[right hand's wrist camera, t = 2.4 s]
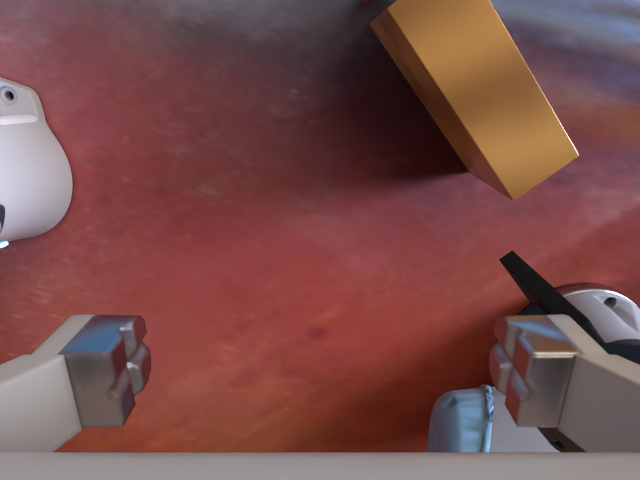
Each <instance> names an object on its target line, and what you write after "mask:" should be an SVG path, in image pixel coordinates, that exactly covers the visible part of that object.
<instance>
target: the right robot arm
mask: <svg viewBox="0 0 640 480" xmlns="http://www.w3.org/2000/svg"><path fill="white" fill-rule="evenodd" d="M10 92H12V93H13V95H14V99H11V98H10V96H9V93H10ZM72 190H73V182H72V173H71V169H70V165H69V162H68V159H67V157H66V154H65V152H64V150H63V148H62V147H61V145H60V143H59V142H58V140H57V139H56V137H55V136H54V134H53V133H52V131H51V130H50V128H49V127H48V125H47V123H46V119H45V115H44V111H43V107H42V104H41V101H40V99H39V97H38V95H37V93H36V92H35V91H34V90H33V89H31V88H30V87H28V86H25V85H22V84H19V83H16V82H13V81H11V80H8V79H5V78H2V77H0V248H2V247H5V246H6V245H8V242H10V241H14V240H19V239H25V238H31V237H35V236H38V235H41V234H43V233H45V232H47V231H49V230H50V229H52V228H53V227H54V226H56V225H57V224H58V223H59V222H60V220H61V219H62V218H63V217H64V215H65V213H66V212H67V210H68V207H69V205H70V202H71V197H72ZM146 333H147V330H146V325H145V321H144V319H143V318H142V317H141V316H136V315H95V314H90V315H73V316H70V317H69V318H68V319H67V320H66V321H65V322H64V323H63V324H62V325H61V326H60V327H59V328H58V329H57V330H56V331H55V332H54V333H53V334H52V335H51V336H50V337H49V338H48V339H47V340H46V341H45V342H44V343H43V344H42V345H40V346H39V347H38V348H37V349H36V350H35V351H34V352H33V353H32V354H31V355H22V356H19V357H17V358H15V359H13V360H10V361H8V362H6V363H3V364H1V365H0V480H640V365H639V364H637V363H634V362H632V361H630V360H627V359H625V358H623V357H621V356H618V355H609V354H608V353H607V352H606V351H605V350H604V349H603V348H602V347H601V346H600V345H599V344H598V343H596V342H595V341H594V340H593V339H592V338H591V337H590V336H589V335H588V334H587V333H586V332H585V331H584V330H583V329H582V328H581V327H580V326H579V325H578V324H577V323H576V322H575V321H574V320H573V319H572V318H571V317H570V316H567V315H564V314H558V315H522V316H498V317H497V319H496V321H495V325H494V330H493V333H494V335H495V336H496V338H497V339H498V342H497V343H496V344H495V345H494V346H493V347H492V348H491V349H490V356H489V369H490V376H491V379H492V382H493V384H494V386H495V388H496V390H497V391H499V392H500V393H502V394H503V395H505V396H506V399H505V406H506V408H507V410H508V411H509V413H510V415H511V417H512V418H513V420H514V422H515V424H516V425H517V427H540V428H558V430H559V431H560V432H561V433H563V434H564V435H565V436H567V437H568V438H569V439H570V440H572V441H573V442H574V443H576V444H577V445H578V446H580V447H581V448H582V449H583V450H585V451H586V452H54V451H55V450H57V449H58V448H59V447H61V446H62V445H63V444H65V443H66V442H67V441H68V440H70V439H71V438H72V437H74V436H75V435H76V434H77V433H79V432H80V431H81V430H82V428H100V427H123V426H124V424H125V422H126V420H127V418H128V417H129V415H130V413H131V411H132V410H133V408H134V406H135V399H134V396H135V395H137V394H138V393H140V392H141V391H143V390H144V388H145V386H146V384H147V382H148V379H149V375H150V370H151V355H150V349H149V348H148V347H147V346H146V345H145V344H144V343H143V342H142V339H143V338H144V336H145V335H146Z"/></svg>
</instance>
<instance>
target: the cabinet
mask: <svg viewBox="0 0 640 480" xmlns="http://www.w3.org/2000/svg"><path fill="white" fill-rule="evenodd" d="M369 25H370V27H371V28H372V30H373V31H374V33H375V34H376V36H377V37H378V39H379V40H380V42H381V43H382V44H383V46H384V47H385V49H386V50H387V52H388V53H389V55H390V56H391V58H392V59H393V61H394V62H395V64H396V65H397V67H398V68H399V69H400V71H401V72H402V74H403V75H404V77H405V78H406V80H407V81H408V83H409V84H410V86H411V87H412V89H413V90H414V92H415V93H416V94H417V96H418V97H419V99H420V100H421V102H422V103H423V105H424V106H425V108H426V109H427V111H428V112H429V114H430V115H431V117H432V118H433V120H434V121H435V122H436V124H437V125H438V127H439V128H440V130H441V131H442V133H443V134H444V136H445V137H446V139H447V140H448V142H449V143H450V145H451V146H452V147H453V149H454V150H455V152H456V153H457V155H458V156H459V158H460V159H461V161H462V162H463V164H464V165H465V167H466V168H467V170H468V171H469V172H470V173H472V174H473V175H474V176H476V177H477V178H479V179H480V180H482V181H484V182H485V183H487V184H488V185H490V186H491V187H493V188H494V189H496V190H497V191H499V192H500V193H502V194H503V195H505V196H506V197H508V198H510V199H511V200H513V201H514V200H515V199H517V198H518V197H520V196H521V195H523V194H524V193H526V192H527V191H528V190H530V189H531V188H533V187H534V186H536V185H537V184H539V183H540V182H542V181H543V180H544V179H546V178H547V177H549V176H550V175H552V174H553V173H555V172H556V171H558V170H559V169H561V168H562V167H563V166H565V165H566V164H568V163H569V162H571V161H572V160H574V159H575V158H577V157H578V156H579V154H578V152H577V150H576V149H575V147H574V145H573V144H572V142H571V140H570V138H569V137H568V135H567V133H566V131H565V130H564V128H563V126H562V125H561V123H560V121H559V119H558V118H557V116H556V114H555V112H554V111H553V109H552V107H551V106H550V104H549V102H548V100H547V99H546V97H545V95H544V94H543V92H542V90H541V88H540V87H539V85H538V83H537V81H536V80H535V78H534V76H533V75H532V73H531V71H530V69H529V68H528V66H527V64H526V62H525V61H524V59H523V57H522V56H521V54H520V52H519V50H518V49H517V47H516V45H515V44H514V42H513V40H512V38H511V37H510V35H509V33H508V31H507V30H506V28H505V26H504V25H503V23H502V21H501V19H500V18H499V16H498V14H497V12H496V11H495V9H494V7H493V6H492V4H491V2H490V0H396V1H395V2H393V3H392V4H391V5H390V6H389V7H388V8H386V9H385V10H384V11H383V12H382V13H381V14H380V15H379V16H377V17H376V18H375V19H374V20H373V21H372V22H371V23H370V24H369Z"/></svg>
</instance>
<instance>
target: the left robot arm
mask: <svg viewBox="0 0 640 480" xmlns="http://www.w3.org/2000/svg"><path fill="white" fill-rule="evenodd" d="M499 260H500V261H501V263H502V264H503V266H504V267H505V268H506V270H507V271H508V272H509V274H510V275H511V277H512V278H513V279H514V281H515V282H516V283H517V285H518V286H519V287H520V289H521V290H522V292H523V293H524V294H525V296H526V297H527V298H528V299H529V300H530V301H531V302H532V303H531V304H530V305H529V306H528V307H526V309H525V310H524V311H523V312H521V313H520V314H519V316H522V315H558V314H564V315H567V316H570V317H571V318H572V319H573V320H574V321H575V322H576V323H577V324H578V325H579V326H580V327H581V328H582V329H583V330H584V331H585V332H586V333H587V334H588V335H589V336H590V337H591V338H592V339H593V340H594V341H595V342H596V343H598V344H599V345H600V346H601V347H602V348H603V349H604V350H605V351H606V352H607V353H608V354H609V355H618V356H621V357H623V358H625V359H627V360H630V361H632V362H634V363H637V364H639V365H640V309H639V308H638V307H637V305H635V304H634V303H633V302H632V301H631V300H629V299H628V298H627V297H625V296H624V295H622V294H621V293H620V292H618V291H617V290H615V289H613V288H611V287H608V286H605V285H601V284H596V283H575V284H569V285H565V286H562V287H559V288H556V289H555V288H553V287H552V286H551V285H550V284H549V283H548V282H547V281H546V280H544V279H543V278H542V277H541V276H540V275H539V274H538V273H537V272H536V271H534V270H533V269H532V268H531V267H530V266H529V265H528V264H527V263H526V262H524V261H523V260H522V259H521V258H520V257H519V256H518V255H517V254H515V253H514V252H513V251H511V252H510V253H508V254H507V255H505V256H504V257H502V258H501V259H499ZM505 399H506V396H505V395H503V394H502V393H500V392H499V391H497V390H496V388H495V387H490V386H489V385H481V386H480V387H479V388H471V389H462V390H453V391H448V392H446V393H444V394H443V395H441V396H440V397H439V398H438V399H437V401H436V403H435V404H434V407H433V410H432V413H431V418H430V424H429V434H428V452H586V451H585V450H583V449H582V448H581V447H580V446H578V445H577V444H576V443H574V442H573V441H572V440H570V439H569V438H568V437H567V436H565V435H564V434H563V433H561V432H560V431H559V430H558V428H540V427H517V425H516V424H515V422H514V420H513V418H512V417H511V415H510V413H509V411H508V410H507V408H506V406H505Z"/></svg>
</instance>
